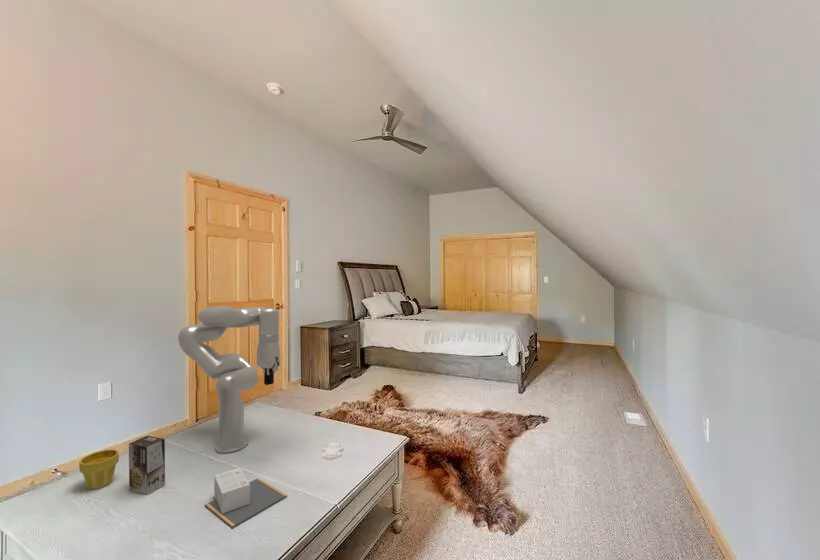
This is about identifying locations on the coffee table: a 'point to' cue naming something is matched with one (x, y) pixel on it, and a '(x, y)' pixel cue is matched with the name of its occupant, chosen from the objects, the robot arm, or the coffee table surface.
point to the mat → (259, 501)
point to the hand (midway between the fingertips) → (268, 383)
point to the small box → (231, 490)
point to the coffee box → (146, 464)
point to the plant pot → (99, 468)
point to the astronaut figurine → (332, 451)
